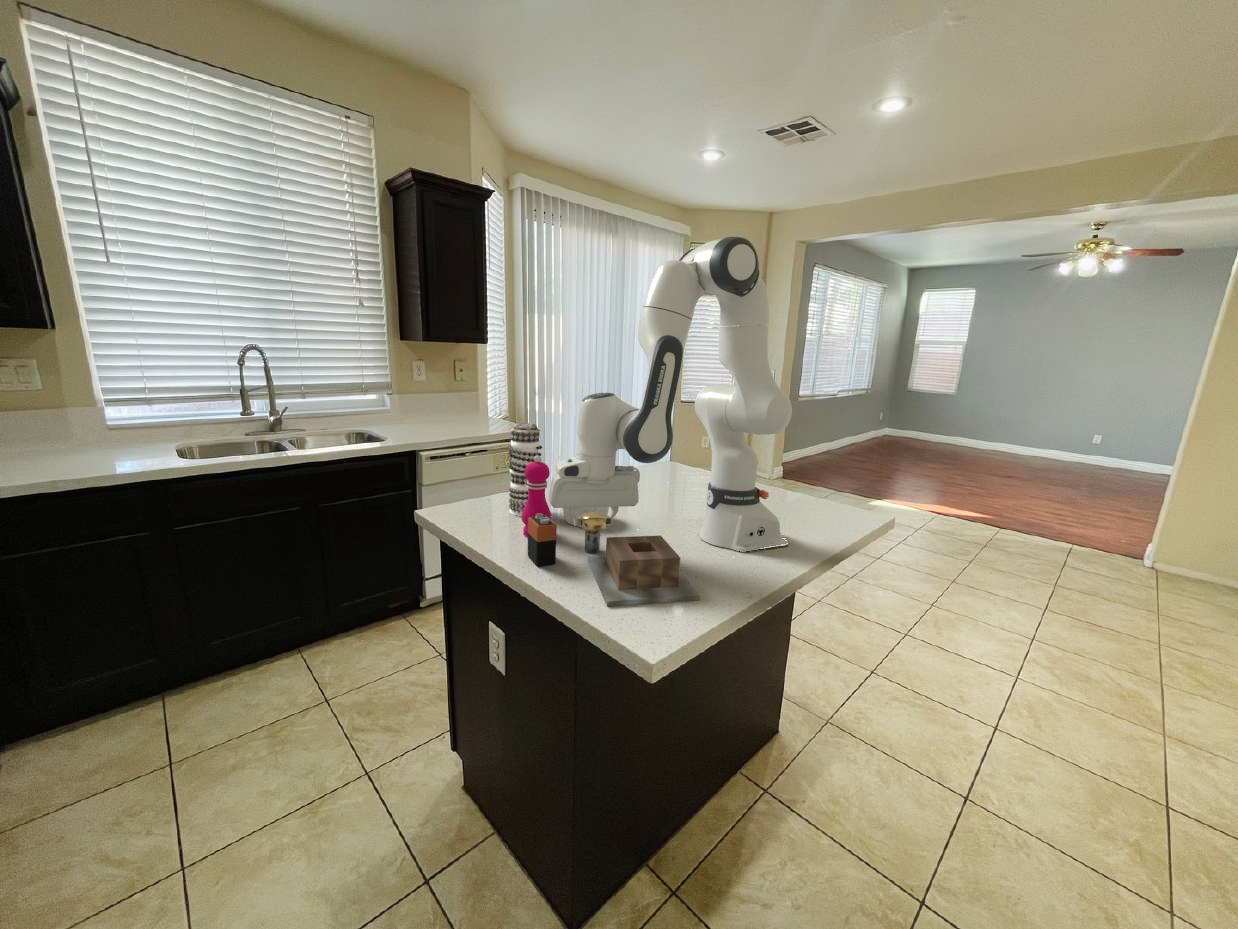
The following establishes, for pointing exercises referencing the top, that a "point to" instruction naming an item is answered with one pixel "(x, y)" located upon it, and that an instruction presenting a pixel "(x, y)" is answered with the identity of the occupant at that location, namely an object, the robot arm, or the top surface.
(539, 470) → the pepper mill
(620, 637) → the top surface
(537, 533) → the battery
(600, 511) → the ramekin
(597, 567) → the board
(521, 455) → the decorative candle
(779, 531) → the robot arm
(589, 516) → the gold grey cylinder
